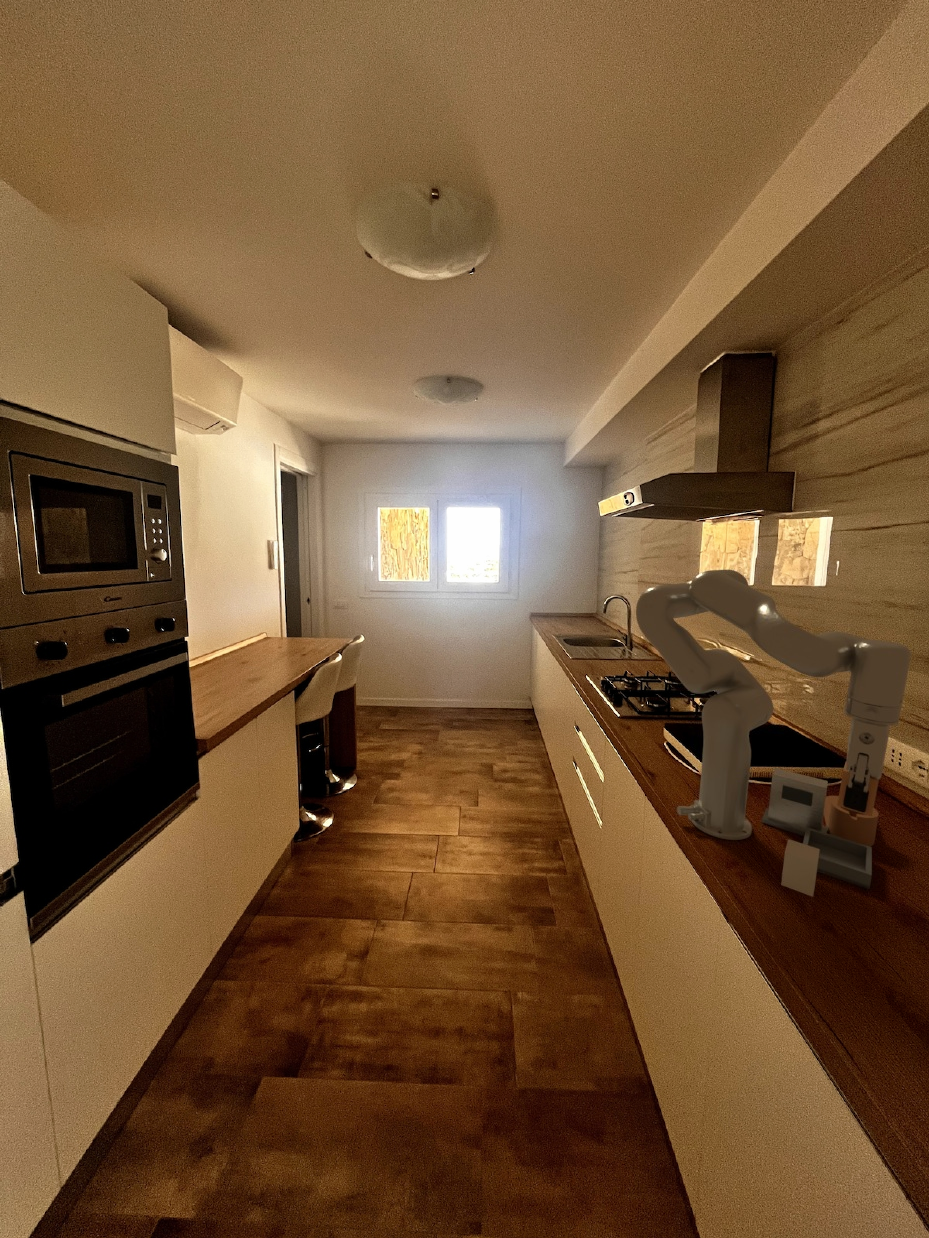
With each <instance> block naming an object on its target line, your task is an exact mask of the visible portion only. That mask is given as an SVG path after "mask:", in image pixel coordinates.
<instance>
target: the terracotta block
mask: <svg viewBox="0 0 929 1238" xmlns="http://www.w3.org/2000/svg"><path fill="white" fill-rule="evenodd" d="M846 767H847V761H845V764H844V767H843V771H842V775H841V782H840V788H839V793H838V796H839V798H838V804H837V806H840V807H843V808H846V809H849V810H853V809H850V808H847V807H844V806H843V803H844V797H845V791H846V786H847V785H848V784H849V778H850V772H849V771H848V770H847V769H846ZM854 767H855V766H854ZM856 769H857V768H854V771H856ZM868 770H869V768H868ZM865 774H868V771H865ZM853 778H855V775H854V777H853ZM864 781H866V778H864ZM879 781H880V779H878V780H877V779H876V778H874V777H872V776H871V774H870V780H869V785H868V791H869V795H868V801H867V806H866V811H865V812H860V811H857V810H853V811H856V812H859V813H862V814H865V815H869V816H872V813H873V808H874V806H875V803H876V802H875V801H876V796H877V791H878V787H879ZM874 809H875V808H874Z"/></svg>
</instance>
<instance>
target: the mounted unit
mask: <svg viewBox="0 0 929 1238" xmlns="http://www.w3.org/2000/svg"><path fill="white" fill-rule="evenodd" d="M771 776H772V778H771V787H770V794H769V802H768V803H769V804H768V807H766V808H765V811H764V813H763V815H762V817H761V824H764V825H767V826H769V827H770V826H771V827H775V828H777V829H781V830H782V831H787V832H790V833H793V834H796V835H800V836H802V837H804V836H805V832H806V828H811V829H814V830H817V831H820V832H824V833H827V834H828V831H827V828H828V826H826V824H825V825H824V824H823V823H824V822H823V820H824V807H825V799H826V797H827V789H828V783H829V782H828V780H824V779H820V778H817V777H813V776H808V775H804V774H800V773H797V772H794V771H789V770H785V769H781V768H777V767H774V770H773V773H772V775H771Z"/></svg>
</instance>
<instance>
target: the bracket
mask: <svg viewBox="0 0 929 1238" xmlns="http://www.w3.org/2000/svg"><path fill="white" fill-rule="evenodd" d="M838 798H839V795H828V796H827V795H826V799H825V807H824V815H823V818H824V822H825V826H828V828H827V833H828V834H830V835H833V836H837V837H840V838H843V839H847V840H850V841H853V842H856V843H860V844H863V845H866V846H869V847H872V846H874V845H875V842H876V841H875V840H876V836H877V835H876V834H877V829H878V828H877V827H878V821H879V812H878V810H877V809H876V808H873V813H872V816H869V815H865V814H862V813H859V812H856V811H853V810H849V809H846V808H843V807H840V806H837V804H838Z"/></svg>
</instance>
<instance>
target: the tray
mask: <svg viewBox="0 0 929 1238" xmlns="http://www.w3.org/2000/svg"><path fill="white" fill-rule="evenodd" d="M802 844H805V845H808V846H811V847H814V848H817V849H820V850H819V858H818V866H817V873H821V874H823V875H825V876H829V877H832V878H835V879H838V880H840V881H844V882H847V883H850V884H852V885H855V886H858V887H860V888H864V889H865V890H866V889H867V890H870V888H871V882H872V875H873V874H872V873H873V869H872V868H873V867H872V866H873V865H872V862H873V861H872V859H873V858H872V854H873V853H872V852H873V851H872V849H873V847H872V846H866V845H863V844H860V843H856V842H853V841H850V840H847V839H843V838H840V837H837V836H833V835H831V834H830V833H828V832H827V833H824V832H820V831H817V830H814V829H811V828H806V832H805V836H803V842H802Z"/></svg>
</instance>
